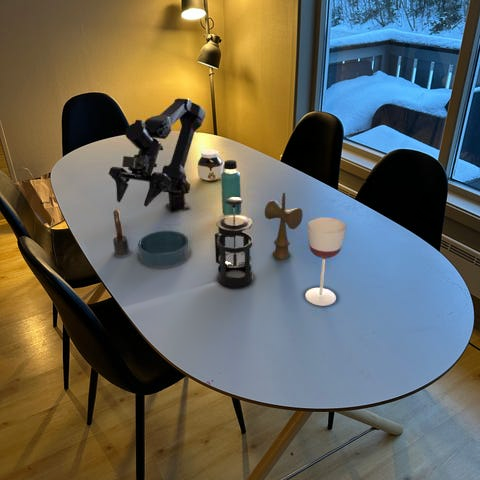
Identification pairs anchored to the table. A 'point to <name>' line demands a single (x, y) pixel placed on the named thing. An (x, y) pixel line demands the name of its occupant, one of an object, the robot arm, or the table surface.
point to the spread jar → (210, 166)
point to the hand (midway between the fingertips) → (131, 203)
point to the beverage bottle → (230, 187)
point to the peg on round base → (119, 237)
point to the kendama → (283, 225)
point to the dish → (163, 248)
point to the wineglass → (324, 252)
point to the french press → (233, 256)
